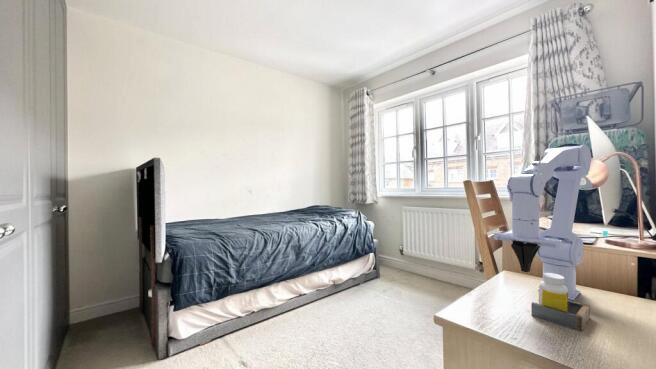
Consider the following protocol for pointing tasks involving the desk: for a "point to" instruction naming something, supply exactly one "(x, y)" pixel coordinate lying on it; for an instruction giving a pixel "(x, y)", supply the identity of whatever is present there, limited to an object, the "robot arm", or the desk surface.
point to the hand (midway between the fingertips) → (525, 271)
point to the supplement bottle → (553, 292)
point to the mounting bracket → (564, 314)
